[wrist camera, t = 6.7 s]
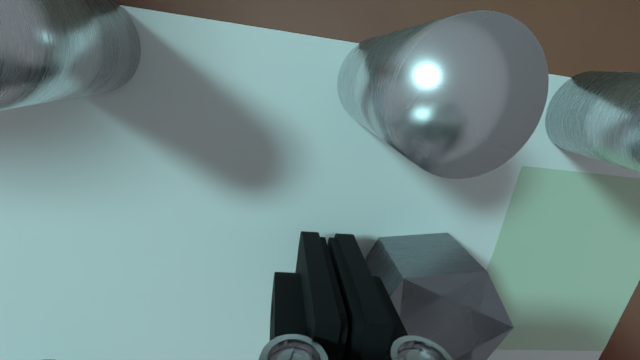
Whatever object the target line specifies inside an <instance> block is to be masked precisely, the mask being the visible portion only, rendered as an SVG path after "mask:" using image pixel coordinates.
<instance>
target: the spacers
mask: <svg viewBox="0 0 640 360" xmlns="http://www.w3.org/2000/svg"><path fill="white" fill-rule="evenodd" d="M140 55H141V47H140V40H139V35H138V33H137V30H136V27H135V25H134V23H133V21H132V20H131V18H130V17H129V15H128V14H127V13H126V11H125V10H124V9H123V8H122V7H121V6H120V5H119V4H118V3H117V2H116V1H115V0H0V110H5V109H11V108H17V107H23V106H29V105H35V104H41V103H47V102H52V101H58V100H64V99H70V98H76V97H82V96H88V95H94V94H100V93H106V92H111V91H113V90H116V89H118V88H120V87H122V86H123V85H125V84H126V83H127V82H128V81H129V80H130V79H131V78H132V77H133V75H134V74H135V72H136V70H137V68H138V65H139V61H140ZM548 84H549V77H548V67H547V62H546V58H545V55H544V52H543V49H542V47H541V45H540V43H539V42H538V40H537V38H536V37H535V36H534V34H533V33H532V32H531V31H530V30H529V29H528V28H527V27H526V26H525V25H524V24H523V23H521V22H520V21H518V20H517V19H515V18H513V17H511V16H509V15H507V14H504V13H500V12H496V11H487V10H481V11H471V12H466V13H461V14H458V15H454V16H450V17H447V18H443V19H439V20H436V21H432V22H428V23H425V24H421V25H417V26H414V27H410V28H406V29H403V30H399V31H395V32H391V33H388V34H384V35H380V36H377V37H373V38H370V39H367V40H365V41H363V42H361V43H360V44H358V45H357V46H355V47H354V48H353V49H352V50H351V51H350V52H349V54H348V55H347V56H346V58H345V59H344V61H343V63H342V65H341V68H340V71H339V75H338V82H337V87H338V95H339V99H340V102H341V104H342V106H343V108H344V109H345V111H346V112H347V113H348V114H349V115H350V116H351V117H352V118H353V119H354V120H355V121H357V122H358V123H360V124H361V125H362V126H364V127H365V128H366V129H368V130H369V131H371V132H372V133H373V134H375V135H376V136H377V137H379V138H380V139H382V140H383V141H384V142H386V143H387V144H388V145H390V146H391V147H393V148H394V149H395V150H397V151H398V152H399V153H401V154H402V155H404V156H405V157H406V158H408V159H409V160H410V161H412V162H413V163H415V164H416V165H417V166H419V167H420V168H422V169H423V170H425V171H427V172H429V173H431V174H433V175H436V176H439V177H443V178H449V179H464V178H471V177H476V176H480V175H482V174H485V173H488V172H490V171H492V170H494V169H496V168H498V167H499V166H501V165H503V164H504V163H506V162H507V161H508V160H509V159H511V158H512V157H513V156H514V155H515V154H516V153H517V152H518V151H519V150H520V149H521V148H522V147H523V146H524V145H525V144H526V142H527V141H528V140H529V138H530V137H531V135H532V134H533V132H534V131H535V129H536V127H537V125H538V123H539V121H540V119H541V116H542V114H543V111H544V108H545V104H546V101H547V95H548ZM545 128H546V132H547V135H548V137H549V139H550V141H551V142H552V143H553V144H554V145H555V146H557V147H559V148H561V149H563V150H567V151H570V152H573V153H577V154H580V155H583V156H587V157H590V158H593V159H597V160H600V161H603V162H607V163H610V164H613V165H616V166H620V167H623V168H626V169H630V170H633V171H636V172H640V72H605V71H588V72H583V73H580V74H578V75H576V76H574V77H572V78H570V79H569V80H567V81H566V82H565V83H564V84H563V85H562V86H561V87H560V88H559V89H558V90H557V91H556V93H555V94H554V96H553V97H552V99H551V101H550V103H549V105H548V108H547V112H546V117H545ZM43 360H55V359H43Z"/></svg>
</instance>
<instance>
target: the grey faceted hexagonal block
mask: <svg viewBox="0 0 640 360" xmlns="http://www.w3.org/2000/svg"><path fill="white" fill-rule="evenodd" d="M365 261H366V263H367V265H368V268H369V270H370V272H371V274H372V276H378V277H380V278H381V280H382V282H383V284H384V286H385V288H386V290H387V292H388V294H389V296H390V298H391V300H392V303H393V305H394V307H395V309H396V311H397V313H398V315H399V317H400V319H401V321H402V323H403V325H404V327H405V329H406V331H407V334H408V336H419V337H423V338H426V339H428V340H431V341H433V342H435V343H436V344H438V345H439V346H441V347H442V348H443V349H444V350H445V351H446V352H447V353H448V354H449V355H450V356H451V357H452V358H453V360H487V359H488V358H489V356H490V355H491V354H492V353H493V352H494V350H495V349H496V348H497V347H498V346H499V345H500V343H501V342H502V341H503V340H504V339H505V337H506V336H507V335H508V334H509V333H510V331H511V330H512V329H513V328H514V327H513V325H512V323H511V320H510V318H509V316H508V314H507V312H506V310H505V308H504V306H503V303H502V301H501V299H500V297H499V295H498V293H497V291H496V289H495V287H494V284H493V282H492V280H491V278H490V276H489V274H488V272H487V271H486V270H485V269H484V268H483V267H482V266H481V265H480V264H479V263H478V262H477V261H476V260H475V259H474V258H473V257H472V256H471V255H470V254H469V253H468V252H467V251H466V250H465V249H464V248H463V247H462V246H461V245H460V244H459V243H458V242H457V241H456V240H455V239H454V238H453V237H452V236H451V235H450V234H449V233H433V234H418V235H404V236H389V237H379V238H378V239H377V241H376V242H375V244H374V245H373V247H372V248H371V250H370V251H369V253H368V254H367V256H366V257H365Z"/></svg>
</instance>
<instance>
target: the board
mask: <svg viewBox="0 0 640 360" xmlns="http://www.w3.org/2000/svg"><path fill="white" fill-rule="evenodd" d="M120 6H121V7H122V8H123V9H124V10H125V11H126V13H127V14H128V15H129V17H130V18H131V20H132V21H133V23H134V25H135V27H136V30H137V33H138V35H139V40H140V47H141V55H140V61H139V65H138V68H137V70H136V72H135V74H134V75H133V77H132V78H131V79H130V80H129V81H128V82H127V83H126V84H125V85H123V86H122V87H120V88H118V89H116V90H113V91H111V92H106V93H100V94H94V95H88V96H82V97H76V98H70V99H64V100H58V101H52V102H47V103H41V104H35V105H29V106H23V107H17V108H11V109H5V110H0V360H43V359H55V360H259V356H260V354H261V352H262V349H263V347H264V346H265V345H266V344H267V343H268V342H269V341H270V314H271V300H272V289H273V280H274V273H275V272H291V273H295V271H296V263H297V255H298V247H299V239H300V233H301V231H306V232H319V235H320V237H325V239H326V242H327V244H328V239H329V237H330V238H334V236H335V234H336V233H339V234H353V235H354V237H355V239H356V241H357V243H358V245H359V248H360V250H361V252H362V254H363V257H364V259H365V257H366V256H367V254H368V253H369V251H370V250H371V248H372V247H373V245H374V244H375V242H376V241H377V239H378V238H379V237H389V236H404V235H418V234H433V233H449V234H450V235H451V236H452V237H453V238H454V239H455V240H456V241H457V242H458V243H459V244H460V245H461V246H462V247H463V248H464V249H465V250H466V251H467V252H468V253H469V254H470V255H471V256H472V257H473V258H474V259H475V260H476V261H477V262H478V263H479V264H480V265H481V266H482V267H483V268H484V269H485V270H486V271H487V272H488V274H489V276H490V278H491V280H492V282H493V284H494V287H495V289H496V291H497V293H498V295H499V297H500V299H501V301H502V303H503V306H504V308H505V310H506V312H507V314H508V316H509V318H510V320H511V323H512V325H513V327H514V328H513V329H512V330H511V331H510V333H509V334H508V335H507V336H506V337H505V339H504V340H503V341H502V342H501V343H500V345H499V346H498V347H497V348H496V349H495V350H494V352H493V353H492V354H491V355H490V356H489V358H488V359H487V360H598V359H599V357H600V355H601V353H602V351H604V349H605V347H606V345H607V343H608V341H609V339H610V337H611V335H612V333H613V331H614V329H615V327H616V325H617V323H618V321H619V319H620V317H621V315H622V313H623V311H624V309H625V307H626V306H627V304H628V302H629V300H630V298H631V296H632V294H633V292H634V290H635V288H636V286H637V284H638V282H639V280H640V172H636V171H633V170H630V169H626V168H623V167H620V166H616V165H613V164H610V163H607V162H603V161H600V160H597V159H593V158H590V157H587V156H583V155H580V154H577V153H573V152H570V151H567V150H563V149H561V148H559V147H557V146H555V145H554V144H553V143H552V142H551V141H550V139H549V137H548V135H547V132H546V128H545V117H546V112H547V108H548V105H549V103H550V101H551V99H552V97H553V96H554V94H555V93H556V91H557V90H558V89H559V88H560V87H561V86H562V85H563V84H564V83H565V82H566V81H567V80H569V79H570V77H564V76H558V75H552V74H548V77H549V84H548V95H547V101H546V104H545V108H544V111H543V114H542V116H541V119H540V121H539V123H538V125H537V127H536V129H535V131H534V132H533V134H532V135H531V137H530V138H529V140H528V141H527V142H526V144H525V145H524V146H523V147H522V148H521V149H520V150H519V151H518V152H517V153H516V154H515V155H514V156H513V157H512V158H511V159H509V160H508V161H507V162H506V163H504V164H503V165H501V166H499V167H498V168H496V169H494V170H492V171H490V172H488V173H485V174H482V175H480V176H476V177H471V178H464V179H449V178H443V177H439V176H436V175H433V174H431V173H429V172H427V171H425V170H423V169H422V168H420V167H419V166H417V165H416V164H415V163H413V162H412V161H410V160H409V159H408V158H406V157H405V156H404V155H402V154H401V153H399V152H398V151H397V150H395V149H394V148H393V147H391V146H390V145H388V144H387V143H386V142H384V141H383V140H382V139H380V138H379V137H377V136H376V135H375V134H373V133H372V132H371V131H369V130H368V129H366V128H365V127H364V126H362V125H361V124H360V123H358V122H357V121H355V120H354V119H353V118H352V117H351V116H350V115H349V114H348V113H347V112H346V111H345V109H344V108H343V106H342V104H341V102H340V99H339V95H338V87H337V82H338V75H339V71H340V68H341V65H342V63H343V61H344V59H345V58H346V56H347V55H348V54H349V52H350V51H351V50H352V49H353V48H354V47H355V46H357V45H358V44H359V43H353V42H346V41H340V40H334V39H328V38H322V37H315V36H309V35H303V34H297V33H290V32H284V31H278V30H272V29H266V28H259V27H253V26H247V25H241V24H234V23H228V22H222V21H216V20H210V19H203V18H197V17H191V16H185V15H178V14H172V13H166V12H160V11H154V10H147V9H141V8H135V7H129V6H123V5H120Z"/></svg>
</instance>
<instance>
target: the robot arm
mask: <svg viewBox="0 0 640 360" xmlns="http://www.w3.org/2000/svg"><path fill="white" fill-rule="evenodd" d="M259 360H453V358H452V357H451V356H450V355H449V354H448V353H447V352H446V351H445V350H444V349H443V348H442V347H441V346H439V345H438V344H436V343H435V342H433V341H431V340H428V339H426V338H423V337H419V336H408V334H407V331H406V329H405V327H404V325H403V323H402V321H401V319H400V317H399V315H398V313H397V311H396V309H395V307H394V305H393V303H392V300H391V298H390V296H389V294H388V292H387V290H386V288H385V286H384V284H383V282H382V280H381V278H380V277H378V276H372V274H371V272H370V270H369V268H368V265H367V263H366V261H365V259H364V257H363V254H362V252H361V250H360V248H359V245H358V243H357V241H356V239H355V237H354V235H353V234H339V233H336V234H335V236H334V238H330V237H329V239H328V244H327V242H326V239H325V237H320V235H319V232H306V231H301V233H300V239H299V247H298V255H297V263H296V271H295V273H291V272H275V273H274V280H273V289H272V300H271V314H270V341H269V342H268V343H267V344H266V345H265V346H264V347H263V349H262V352H261V354H260V356H259Z"/></svg>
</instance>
